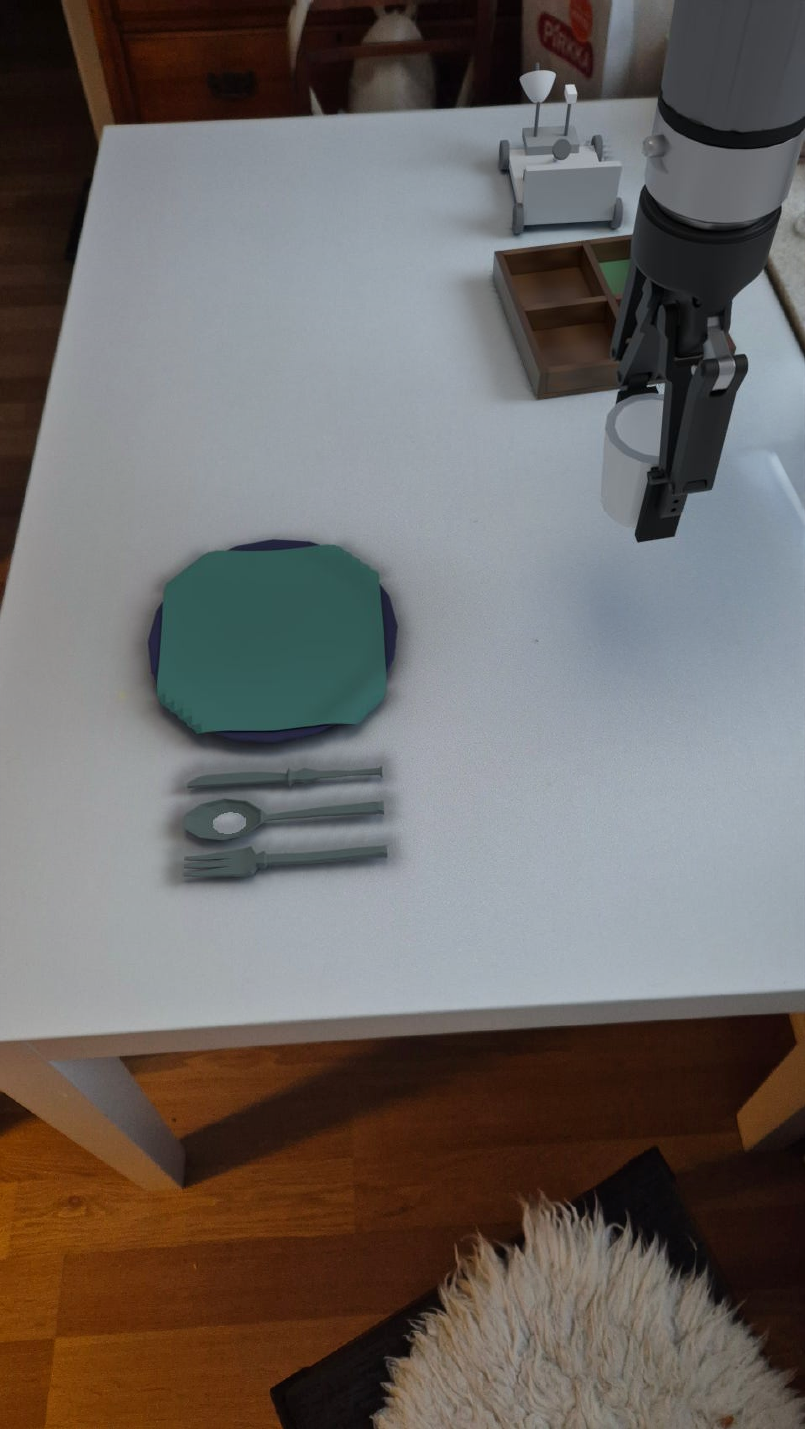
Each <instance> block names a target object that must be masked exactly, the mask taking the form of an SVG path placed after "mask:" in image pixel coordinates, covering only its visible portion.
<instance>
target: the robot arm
mask: <svg viewBox="0 0 805 1429" xmlns="http://www.w3.org/2000/svg"><path fill="white" fill-rule="evenodd" d="M664 58H665V59H664V65H663V72H662V77H661V82H660V86H659V88H658V89H659V90H658V96H657V102H656V106H655V114H654V119H653V124H652V130H651V135H650V136H646V137H645V138H644V140H643V141H642V146H641V149H642V150H641V152H642V155H643V156H644V157H645V158H646V164H645V169H644V174H643V177H644V184H643V186H642V188H641V190H640V192H639V197H638V203H637V208H636V212H635V220H634V224H633V231H632V233H631V234H632V241H631V255H630V265H629V270H628V274H627V278H626V283H625V287H624V291H623V296H622V300H621V304H620V309H619V313H618V317H617V322H616V326H615V330H614V334H613V339H612V343H611V348H610V357H611V360H612V362H619V364H620V365H619V367H618V370H617V372H616V381H617V384H618V386H619V387H620V389H619V391H617V395H616V400H615V405H616V404H617V403H618V402H621V401H623V400H625V399H627V398H629V397H631V396H633V395H640V394H647V393H656V394H660V392H659V390H658V388H657V385H652V386H648V385H647V384H648V383H649V382H656V381H663V380H665V383H664V390H663V394H664V401H663V414H662V427H661V440H660V453H659V466H658V467H651V470H650V471H648V472H647V479H648V482H647V486H646V490H645V494H644V498H643V502H642V506H641V510H640V514H639V518H638V522H637V526H636V528H635V531H634V534H633V535H634V538H635V540H636V542H637V544H638V543H644V542H651V541H657V540H663V539H671V538H674V537H675V536H676V535H677V534H676V533H677V531H678V526H679V523H680V521H681V516H682V514H683V513H684V509H685V506H686V502H687V499H688V496H689V495H691V494H697V493H704V492H709V491H712V490H713V488H714V484H715V480H716V477H717V472H718V469H719V465H720V462H721V457H722V453H723V449H724V446H725V441H726V437H727V433H728V428H729V424H730V421H731V417H732V413H733V408H734V404H735V401H736V397H737V394H738V392H739V389H740V387H741V385H742V384H743V382H744V379H745V378H746V376H747V374H748V372H749V359H748V356H747V354H746V353H738V354H734V355H731V353H730V350H729V347H728V344H727V341H726V338H725V337H726V335H727V334H728V333H730V329H731V324H732V309H733V300H734V299H735V298H736V297H737V295H738V294H739V293H740V292H742V291H743V290H744V289H745V288H746V287H747V286H749V285H750V284H751V283H753V282H754V281H755V280H756V279H757V278H758V277H759V276H760V274H761V273H762V272H763V270H764V269H765V266H766V264H767V261H768V259H769V254H770V251H771V248H772V245H773V243H774V239H775V236H776V232H777V229H778V225H779V223H780V219H781V216H782V213H783V210H782V209H783V206H782V204H783V203H784V202H785V201H786V200H787V198H788V196H789V193H790V189H791V186H792V183H793V179H794V176H795V172H796V169H797V167H798V163H799V159H800V156H801V152H802V149H803V145H804V142H805V0H674V3H673V9H672V14H671V22H670V28H669V34H668V40H667V46H666V53H665V57H664ZM628 338H631V340H630V342H626V340H627V339H628ZM703 354H704V355H703ZM700 355H703V356H701V357H697V358H691V359H684V360H677V361H674V360H675V357H676V358H689V357H696V356H700ZM662 376H664V377H665V378H662ZM615 405H614V406H615Z"/></svg>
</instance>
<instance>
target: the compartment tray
mask: <svg viewBox="0 0 805 1429" xmlns="http://www.w3.org/2000/svg"><path fill="white" fill-rule="evenodd" d="M632 234H633V233H631V234H624V235H623V234H622V235H615V236H607V237H599V238H591V239H590V238H589V239H584V240H576V241H568V242H559V243H551V244H543V245H535V246H527V247H520V248H518V247H517V248H512V249H503V250H494V251H493V262H492V263H493V265H492V280H493V283H494V286H495V289H496V291H497V294H498V297H499V300H500V303H501V306H502V308H503V311H504V314H505V316H506V319H507V322H508V325H509V328H510V330H511V333H512V336H513V338H514V341H515V344H516V347H517V350H518V353H519V355H520V358H521V360H522V363H523V366H524V369H525V371H526V374H527V377H528V379H529V382H530V386H531V388H532V391H533V394H534V396H535V400H536V401H539V400H546V399H554V398H560V397H567V396H577V395H583V394H590V393H596V392H597V393H598V392H605V391H611V390H612V391H613V390H620V387H619V386H618V384H617V381H616V372H617V370H618V367H619V365H620V364H619V362H612V360H611V357H610V348H611V343H612V339H613V334H614V330H615V326H616V322H617V317H618V313H619V309H620V304H621V300H622V296H623V291H624V287H625V283H626V278H627V274H628V270H629V265H630V255H631V241H632ZM725 338H726V341H727V344H728V347H729V350H730V353H731V355H736V350H737V345H736V344H735V341H734V340H733V338H732V337H731V334H730V332H728V334H727V335H726V337H725ZM630 340H631V338H628V339H627V340H626V342H630ZM703 355H704V354H703ZM703 355H700V356H696V357H689V358H676V357H675V360H674V361H677V360H684V359H691V358H697V357H701V356H703ZM662 378H665V377H664V376H662ZM657 384H665V380H663V381H656V382H649V383H648V384H647V386H649V385H657Z"/></svg>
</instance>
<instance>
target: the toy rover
mask: <svg viewBox="0 0 805 1429" xmlns="http://www.w3.org/2000/svg"><path fill="white" fill-rule="evenodd" d="M556 78H557V75H556V73H555V72H554V71H551V70H545V69H544V70H542V69H541V70H540V62H535V70H533V71H529V72H526V73H524V74H523V75H521V76H520V77H519V82H520V85H521V87H522V89H523V91H524V93H525V94H526V96H527V98H528V99H529V100H530V101H531V102H532V103H533V104H535V115H534V125H533V126H532V127H522V132H521V138H522V142H523V147H524V148H521V149H520V148H519V149H510V142H509V140H508V139H502V140H499V146H498V165H499V170H501V171H506V170H507V171H508V170H509V174H510V178H511V179H510V180H511V183H512V187H513V192H514V196H515V201H516V202H515V203H513V207H512V220H511V221H512V230H513V234H515V235H518V234H522V233H523V232H524V227H525V226H535V225H550V224H569V223H587V222H588V223H589V222H604V221H607V222H609V226H610V228H611V229H620V227H621V226H622V223H623V216H624V203H623V200H622V198H621V197H618V191H619V186H620V180H621V174H622V168H623V164H622V161H621V160H607V161H606V160H605V161H604V160H603V161H602V159H603V155H604V154H603V153H604V142H603V140H604V139H603V135H601V134H594V135H593V136H592V138H591V141H590V145H581V144H580V140H579V136H578V134H577V129H576V126H575V125H574V124H572V125H570V117H571V111H572V104H577V99H578V92H577V88H576V85H575V84H572V83H567V84H565V86H564V94H563V95H564V98H565V101H566V105H567V106H566V114H565V115H566V116H565V123H564V125H554V126H553V125H551V126H539V119H540V107H541V104H542V103H543V102H545V100H546V99H547V97H548V96H549V94H550V93H551V90H552V88H553V85H554V83H555V79H556Z"/></svg>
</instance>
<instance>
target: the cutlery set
mask: <svg viewBox="0 0 805 1429" xmlns="http://www.w3.org/2000/svg"><path fill="white" fill-rule="evenodd" d="M398 629H399V625H398V622H397V618H396V614H395V611H394V607H393V603H392V600H391V596H390V594H389V593H388V592H387V591H386V589H385V588H384V587H383V586H382V584H381V582H380V574H379V572H378V571H377V570H375V569H373V568H372V567H370V565H369V564H366V563H365V562H362V560H361V558H358V557H356V556H354V555H352V553H351V552H349V551H347V550H344V547H341V546H339V545H336V544H328V543H327V544H318V543H316V542H313V541H310V540H293V539H279V538H278V539H275V538H273V539H267V540H262V541H255V542H251V543H244V544H239V545H235V546H233V547H230V548H229V549H226V550H225V549H224V550H211V551H208V552H205V554H202V555H201V556H200V557H198V558H197V559H195V561H193V562H192V563H191V564H189V565H188V566H187V567H186V568H184V569H183V570H182V571H180V572H179V573H178V574H177V575H176V576H174V577H172V579H171V580H169V581H168V582H167V583H166V584H165V586H164V588H163V593H162V602H161V603H160V605H159V606H158V608H157V609H156V611H155V615H154V618H153V621H152V625H151V629H150V633H149V636H148V639H147V640H148V641H147V646H148V656H149V664H150V673H151V676H152V677H153V679H154V681H155V682H156V697H157V699H158V700H159V703H160V704H161V706H163V707H165V709H168V710H169V711H170V713H172V714H174V715H176V716H177V717H178V719H179V720H181V721H182V722H184V723H186V725H187V727H188V728H190V729H192V730H193V731H194V733H195V734H204V733H209V732H210V733H213V734H215V735H218V736H220V737H223V738H225V739H229V740H231V741H238V742H239V741H240V742H252V743H253V742H254V743H268V744H276V743H281V742H286V741H291V740H296V739H300V738H306V737H311V736H315V735H317V734H319V733H322V732H323V731H325V730H327V729H329V728H331V727H332V726H335V725H336V724H343V725H359V724H360V723H362V721H363V720H364V719H365V718H366V717H367V716H368V714H369V713H371V712H372V711H373V710H374V709H375V708H377V707H378V706H379V705H380V704H381V703H382V702H383V700H384V699H385V695H386V692H387V673H389V672H388V671H389V670H390V668H391V666H392V664H393V662H394V660H395V655H396V654H395V653H396V646H397V637H398ZM351 776H352V777H354V776H355V777H356V776H380V778H382V779H383V765H381V766H379V767H373V768H363V769H353V770H348V769H347V770H346V769H345V770H343V769H341V770H340V769H333V770H332V769H331V770H316V769H313V768H309V767H303V768H301V769H298V770H292V769H291V768H290V767H288V768H287V771H286V772H285V773H284V772H271V771H270V772H269V771H248V772H247V771H246V772H231V773H230V772H227V773H217V774H216V773H215V774H214V773H213V774H206V775H205V774H204V775H201V776H198V777H195V778H194V779H192V780H190V781H188V782H187V783H186V787H187V789H195V788H196V789H198V788H212V787H226V786H228V787H229V786H243V785H257V784H273V783H287V785H288V786H289V788H291V787H292V785H293V784H296V783H298V782H299V783H302V784H304V785H306V784H309V783H313V782H316V781H317V780H321V779H334V778H335V779H336V778H343V777H351ZM228 812H233V813H239V814H241V815H242V816H243V817H244V818H246V826H245V827H244V828H243V829H241V830H240V831H239V832H236V833H232V834H224V833H219V832H218V831H217V830H215V829H214V828H213V826H214V825H213V820H214V819H215V818H217V817H218V816H219V815H221V814H224V813H228ZM370 815H371V816H372V815H385V806H384V800H380V801H368V802H357V803H348V804H339V805H330V806H329V805H328V806H319V807H313V808H312V807H311V808H306V809H299V810H298V809H297V810H290V811H283V812H276V813H270V814H269V813H268V814H267V813H266V812H265V811H264V810H263V809H261V808H260V807H258V806H256V805H254V804H253V803H251V802H249V801H248V800H245V799H244V800H243V799H233V798H225V797H224V798H221V799H220V798H219V799H216V800H212V801H207V802H203V803H201V804H199V805H197V806H196V807H194V808H193V809H191V810H190V811H189V812H187V813H186V814H184V818H183V829H185V830H186V831H188V832H190V833H191V834H192V835H194V836H196V837H198V838H200V839H209V840H218V841H231V840H233V839H238V838H241V837H244V836H247V835H248V834H250V833H251V832H253V830H255V829H256V828H257V827H258V826H260V825H261V824H264V823H266V822H272V821H273V822H274V821H283V820H297V819H309V818H311V819H312V818H320V817H321V818H324V817H344V816H346V817H347V816H370ZM382 858H383V859H388V845H387V844H384V845H373V846H372V845H371V846H357V847H349V848H342V849H341V848H340V849H331V850H321V851H307V852H282V853H267V852H266V851H265V850H262V851H260V852H258V853H256V852H255V850H254V848H253V847H252V845H250V846H247V847H242V848H236V849H231V850H225V851H219V852H213V853H206V854H199V855H189V856H184V857H183V860H184V861H187V862H188V861H189V862H191V861H192V862H198V863H186V864H183V869H191V870H192V869H193V870H197V871H185V872H183V874H182V875H183V877H189V878H190V877H191V878H192V877H194V878H198V877H199V878H200V877H201V878H203V877H235V878H237V877H238V878H243V877H244V878H245V877H253V875H254V874H256V872H257V871H258V870H262V869H265V870H266V869H267V868H268V866H272V865H273V866H275V865H305V864H307V865H309V864H322V863H333V862H346V861H353V860H367V859H369V860H370V859H382ZM204 861H205V862H204ZM258 868H260V869H258ZM201 869H203V870H201ZM257 869H258V870H257Z"/></svg>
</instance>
